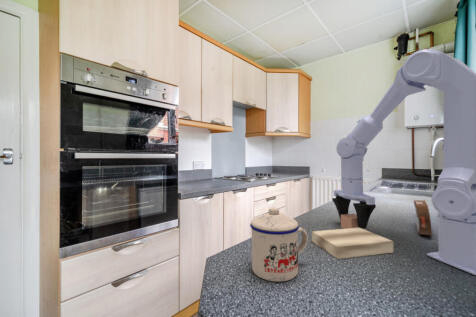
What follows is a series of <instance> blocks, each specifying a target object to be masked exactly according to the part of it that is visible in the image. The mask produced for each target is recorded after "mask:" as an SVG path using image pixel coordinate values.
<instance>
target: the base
mask: <svg viewBox="0 0 476 317" xmlns="http://www.w3.org/2000/svg"><path fill="white" fill-rule="evenodd" d="M311 242H312V243H314V244H315V245H317V246H318V247H319V248H321V249H323V250H324V251H325V252H327V253H328V254H330V255H331V256H333V257H334V258H336V260H339V259H340V260H341V259H348V258H358V257H367V256H373V255H374V256H375V255H383V254H390V253H391V254H392V253H394V241H393V240H391V239H389V238H386V237H384V236H381V235H379V234H376V233H375V232H374V233H373V232H371V231H369V230H367V229H365V230H364V229H362V228H359V227H358V228H347V229H343V228H336V229H326V230H323V229H322V230H313V231H311Z"/></svg>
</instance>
